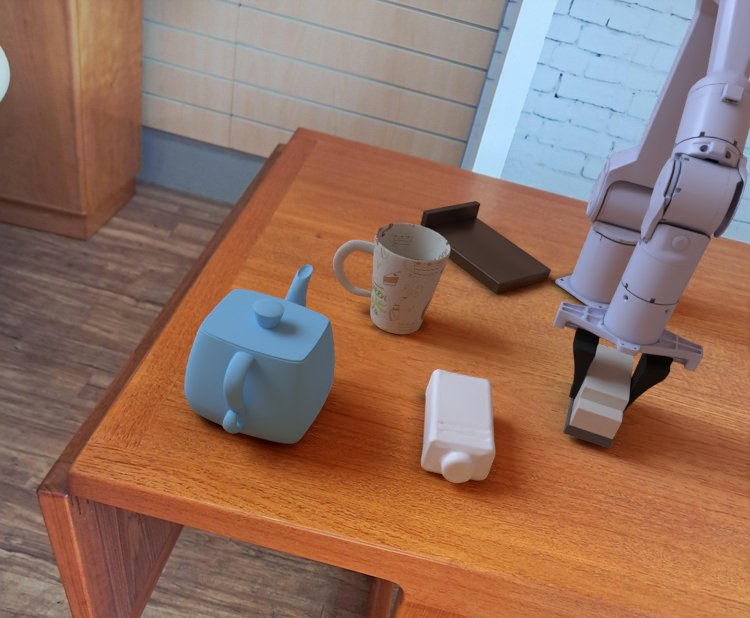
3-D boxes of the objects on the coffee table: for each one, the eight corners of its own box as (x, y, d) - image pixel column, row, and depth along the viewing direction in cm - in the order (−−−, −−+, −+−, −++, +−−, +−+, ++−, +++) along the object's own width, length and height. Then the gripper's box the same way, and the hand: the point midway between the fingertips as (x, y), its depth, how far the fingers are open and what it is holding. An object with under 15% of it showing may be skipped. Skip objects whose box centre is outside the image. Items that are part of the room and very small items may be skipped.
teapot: (351, 371, 83) (370, 275, 75) (290, 477, 70) (305, 374, 62) (242, 335, 84) (249, 236, 76) (162, 433, 71) (161, 326, 63)
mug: (424, 348, 88) (445, 268, 81) (317, 319, 89) (329, 237, 82) (434, 311, 94) (455, 234, 87) (334, 284, 95) (347, 205, 88)
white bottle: (417, 483, 73) (428, 449, 70) (423, 398, 82) (432, 365, 79) (485, 496, 73) (498, 463, 70) (483, 411, 82) (495, 378, 79)
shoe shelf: (469, 223, 113) (475, 200, 111) (547, 279, 105) (556, 255, 103) (417, 234, 108) (423, 210, 105) (496, 294, 100) (504, 269, 98)
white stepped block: (575, 376, 88) (591, 339, 85) (617, 390, 88) (636, 354, 84) (563, 433, 81) (580, 395, 77) (609, 449, 80) (629, 411, 77)
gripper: (571, 283, 72) (525, 399, 81) (726, 333, 70) (661, 445, 80) (580, 251, 77) (535, 364, 86) (724, 297, 75) (663, 406, 85)
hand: (596, 400), depth 83 cm, fingers closed on white stepped block, 4 cm apart
